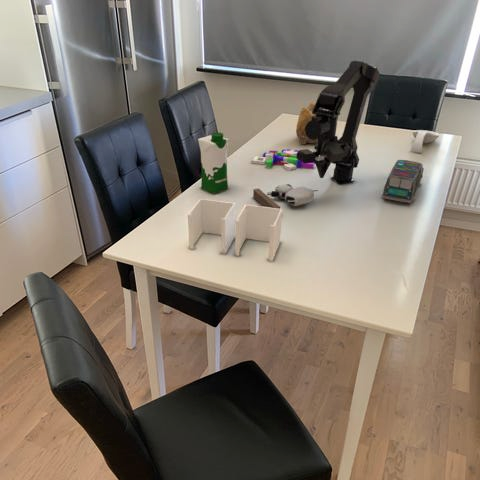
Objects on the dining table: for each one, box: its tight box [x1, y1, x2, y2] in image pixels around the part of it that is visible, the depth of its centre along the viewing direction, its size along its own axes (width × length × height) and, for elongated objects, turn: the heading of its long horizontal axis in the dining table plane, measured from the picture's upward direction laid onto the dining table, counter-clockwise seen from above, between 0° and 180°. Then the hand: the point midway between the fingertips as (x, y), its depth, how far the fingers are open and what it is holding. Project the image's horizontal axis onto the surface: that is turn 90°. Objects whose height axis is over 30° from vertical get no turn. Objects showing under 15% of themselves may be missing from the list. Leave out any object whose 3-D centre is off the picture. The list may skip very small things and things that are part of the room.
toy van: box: [381, 159, 425, 204], centre depth 172 cm, size 11×25×10 cm, turn 155°
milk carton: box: [197, 131, 230, 195], centre depth 169 cm, size 9×9×20 cm
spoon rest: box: [409, 129, 440, 154], centre depth 213 cm, size 24×12×7 cm, turn 152°
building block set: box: [251, 148, 315, 171], centre depth 197 cm, size 25×20×4 cm
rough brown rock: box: [295, 102, 324, 145], centre depth 213 cm, size 23×17×15 cm
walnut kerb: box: [252, 188, 281, 209], centre depth 163 cm, size 2×16×3 cm, turn 24°
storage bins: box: [187, 198, 283, 262], centre depth 140 cm, size 25×11×11 cm, turn 75°
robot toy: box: [266, 183, 320, 207], centre depth 167 cm, size 12×4×15 cm
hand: (321, 177), depth 167 cm, fingers closed
